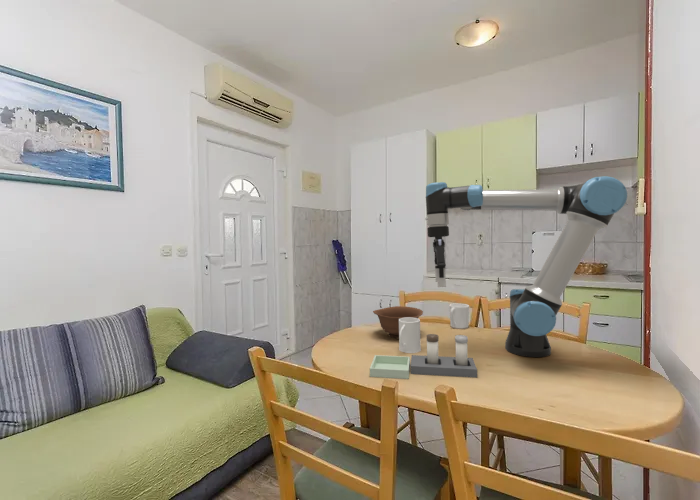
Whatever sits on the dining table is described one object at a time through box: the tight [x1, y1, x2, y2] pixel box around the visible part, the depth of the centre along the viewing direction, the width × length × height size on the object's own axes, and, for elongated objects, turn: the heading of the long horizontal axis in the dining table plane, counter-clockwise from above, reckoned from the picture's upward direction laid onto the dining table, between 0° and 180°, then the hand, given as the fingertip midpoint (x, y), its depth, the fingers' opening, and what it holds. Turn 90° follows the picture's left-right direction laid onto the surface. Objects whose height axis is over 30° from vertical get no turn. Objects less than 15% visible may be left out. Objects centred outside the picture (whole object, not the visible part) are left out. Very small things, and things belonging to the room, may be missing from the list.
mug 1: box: [398, 317, 422, 354], centre depth 131 cm, size 12×8×12 cm
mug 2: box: [448, 302, 470, 330], centre depth 162 cm, size 11×9×10 cm
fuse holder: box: [410, 334, 478, 379], centre depth 111 cm, size 20×10×12 cm, turn 78°
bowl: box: [372, 305, 424, 339], centre depth 152 cm, size 22×22×11 cm
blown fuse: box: [426, 333, 439, 365], centre depth 112 cm, size 4×4×11 cm
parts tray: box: [369, 354, 411, 380], centre depth 112 cm, size 12×12×3 cm
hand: (440, 284), depth 125 cm, fingers open, 13 cm apart
